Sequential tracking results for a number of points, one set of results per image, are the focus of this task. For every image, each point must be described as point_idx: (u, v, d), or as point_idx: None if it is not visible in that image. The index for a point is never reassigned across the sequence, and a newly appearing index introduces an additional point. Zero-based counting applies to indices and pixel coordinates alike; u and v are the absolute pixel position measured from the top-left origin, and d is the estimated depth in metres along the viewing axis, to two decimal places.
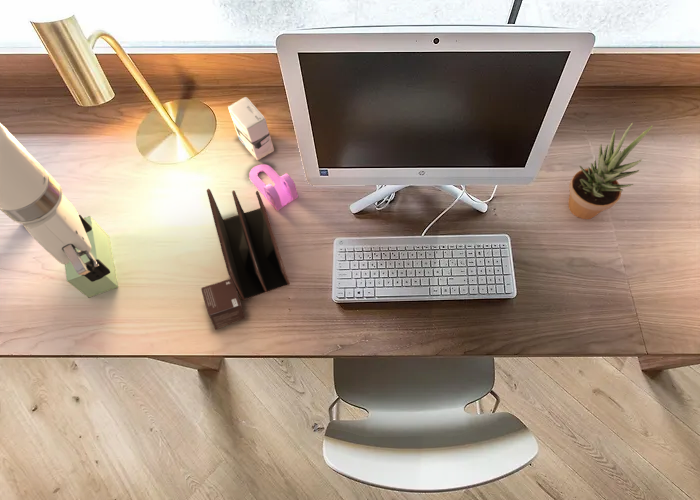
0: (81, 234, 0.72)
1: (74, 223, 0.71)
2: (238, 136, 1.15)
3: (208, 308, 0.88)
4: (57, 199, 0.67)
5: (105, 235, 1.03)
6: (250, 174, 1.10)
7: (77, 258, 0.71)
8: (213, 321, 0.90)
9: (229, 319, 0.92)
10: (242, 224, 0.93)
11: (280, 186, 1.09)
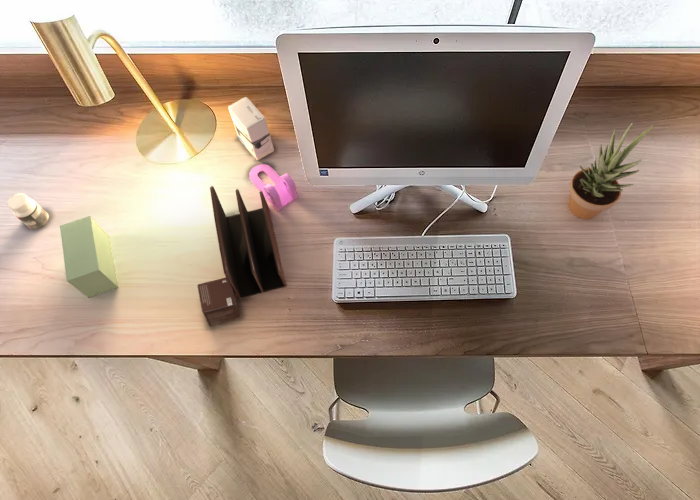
0: None
1: None
2: (238, 136, 1.15)
3: (202, 305, 0.89)
4: None
5: (105, 235, 1.03)
6: (250, 174, 1.10)
7: None
8: (207, 318, 0.91)
9: (224, 317, 0.92)
10: (242, 223, 0.93)
11: (280, 186, 1.09)
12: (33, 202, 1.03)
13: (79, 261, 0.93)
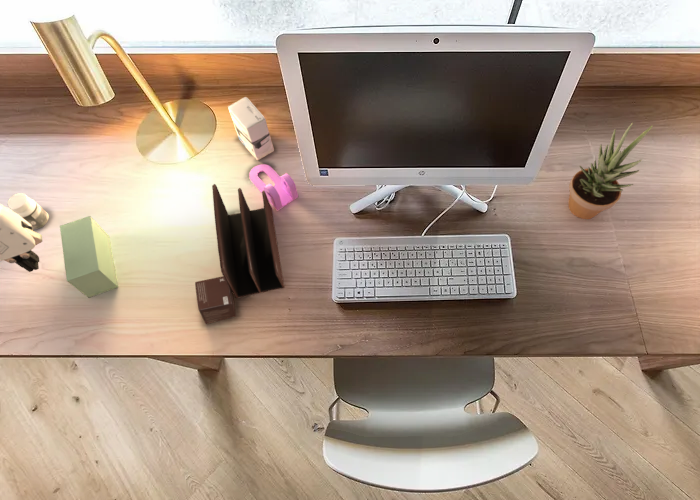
0: None
1: None
2: (238, 136, 1.15)
3: (199, 303, 0.89)
4: None
5: (105, 235, 1.03)
6: (250, 174, 1.10)
7: (33, 231, 0.87)
8: (203, 316, 0.91)
9: (220, 316, 0.93)
10: (242, 223, 0.93)
11: (280, 186, 1.09)
12: (33, 202, 1.03)
13: (79, 261, 0.93)
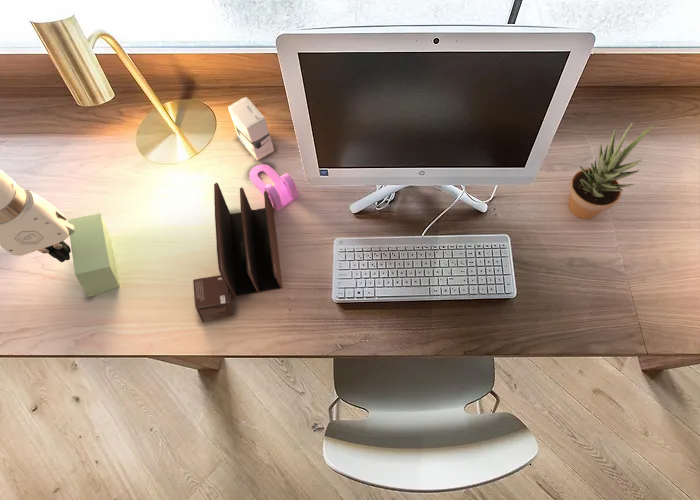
0: None
1: None
2: (238, 136, 1.15)
3: (196, 301, 0.89)
4: None
5: (108, 234, 1.03)
6: (250, 174, 1.10)
7: (66, 222, 0.88)
8: (200, 314, 0.91)
9: (216, 314, 0.93)
10: (243, 222, 0.93)
11: (280, 186, 1.09)
12: None
13: (88, 256, 0.93)
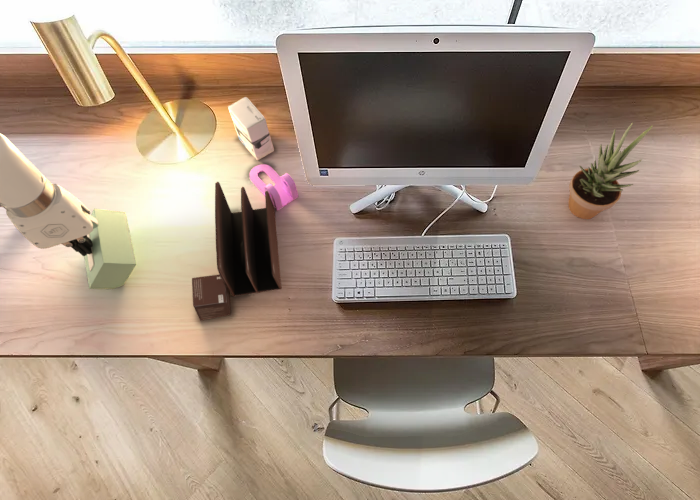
0: None
1: None
2: (238, 136, 1.15)
3: (194, 299, 0.89)
4: None
5: None
6: (250, 174, 1.10)
7: (90, 216, 0.89)
8: (197, 312, 0.91)
9: (214, 313, 0.93)
10: (243, 222, 0.93)
11: (280, 186, 1.09)
12: None
13: (116, 249, 0.94)
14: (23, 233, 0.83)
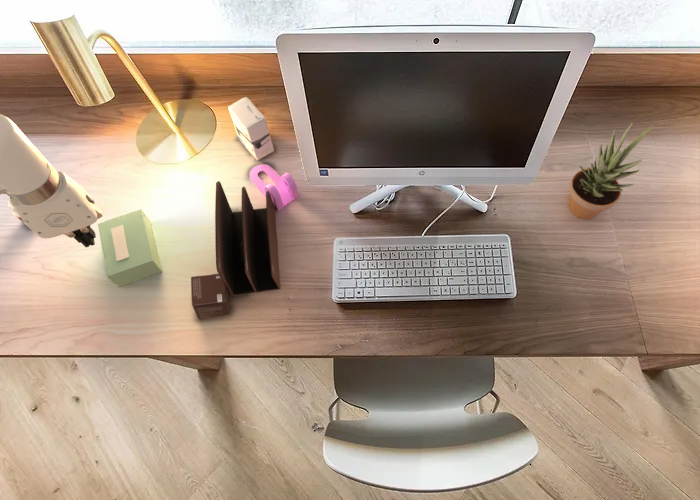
0: None
1: None
2: (238, 136, 1.15)
3: (193, 298, 0.89)
4: None
5: None
6: (250, 174, 1.10)
7: (95, 206, 0.88)
8: (196, 311, 0.91)
9: (213, 312, 0.93)
10: (243, 222, 0.93)
11: (281, 186, 1.09)
12: None
13: (155, 253, 1.00)
14: (26, 222, 0.81)
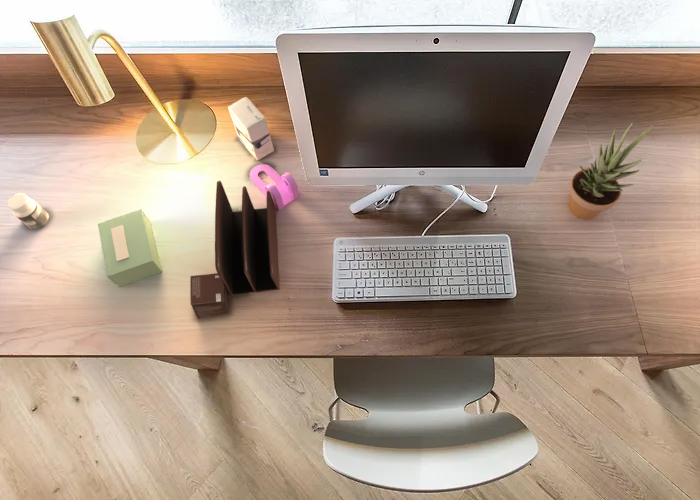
0: None
1: None
2: (238, 136, 1.15)
3: (192, 297, 0.89)
4: None
5: None
6: (250, 174, 1.10)
7: None
8: (195, 310, 0.91)
9: (212, 312, 0.93)
10: (243, 222, 0.93)
11: (281, 185, 1.09)
12: (33, 202, 1.03)
13: (155, 253, 1.00)
14: None
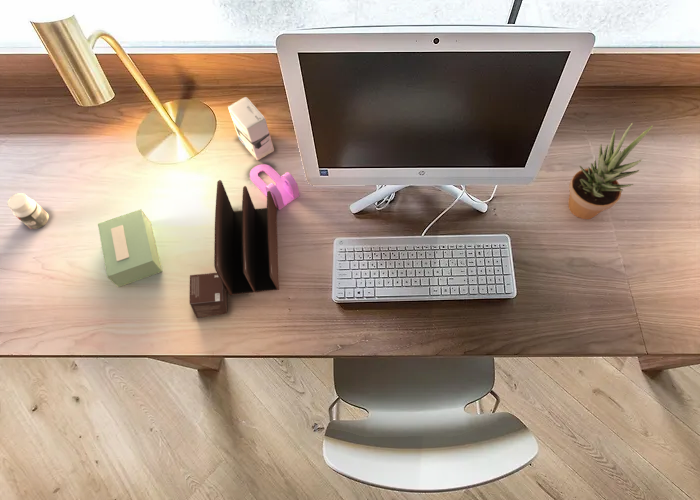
0: None
1: None
2: (238, 136, 1.15)
3: (191, 296, 0.90)
4: None
5: None
6: (250, 174, 1.10)
7: None
8: (194, 310, 0.92)
9: (211, 311, 0.93)
10: (243, 222, 0.93)
11: (281, 185, 1.09)
12: (33, 202, 1.03)
13: (155, 253, 1.00)
14: None
